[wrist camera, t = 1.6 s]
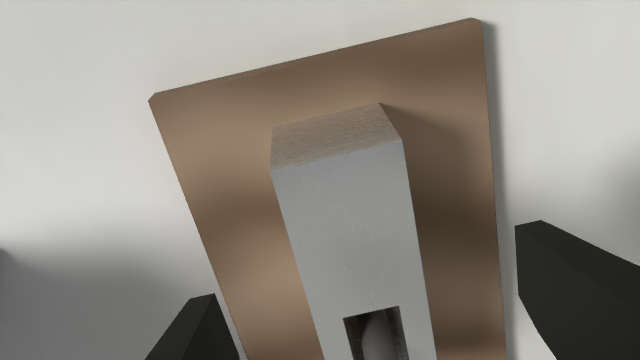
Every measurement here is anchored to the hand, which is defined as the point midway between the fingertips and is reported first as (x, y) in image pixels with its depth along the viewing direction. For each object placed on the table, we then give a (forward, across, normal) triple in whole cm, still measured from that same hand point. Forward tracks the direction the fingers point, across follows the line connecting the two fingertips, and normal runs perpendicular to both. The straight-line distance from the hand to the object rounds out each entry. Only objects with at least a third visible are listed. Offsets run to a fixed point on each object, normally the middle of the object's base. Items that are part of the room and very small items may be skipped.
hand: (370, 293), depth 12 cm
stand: (+9, 0, +10) cm, 13 cm away
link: (+8, 0, +4) cm, 9 cm away
